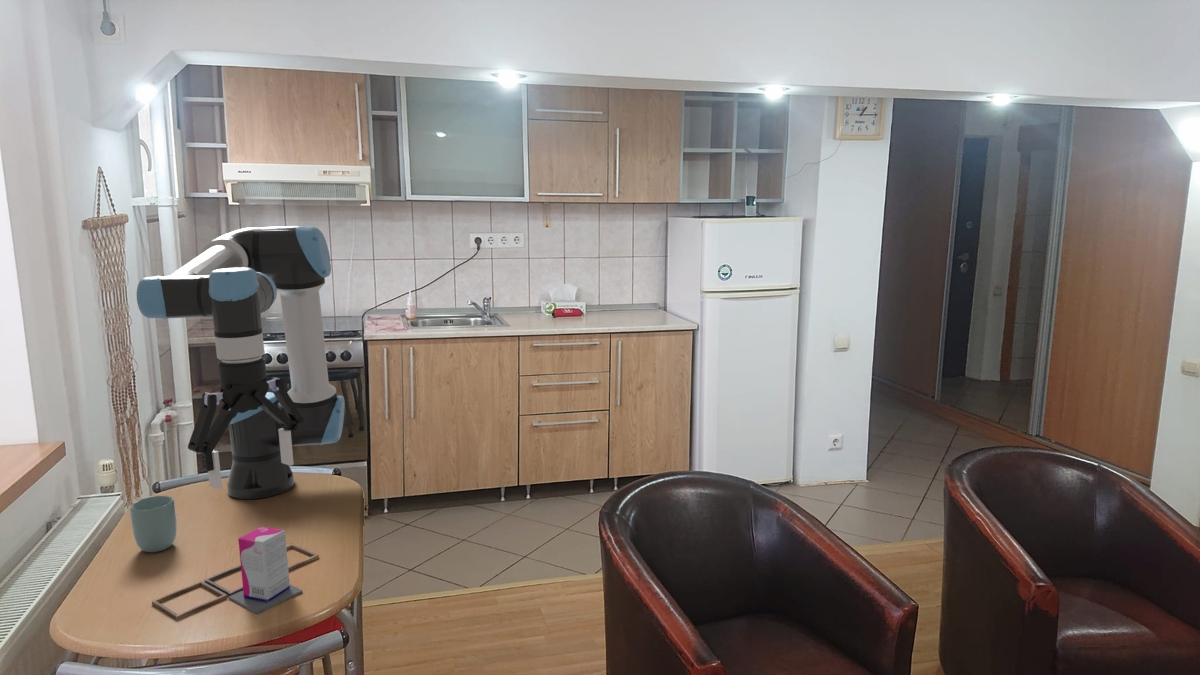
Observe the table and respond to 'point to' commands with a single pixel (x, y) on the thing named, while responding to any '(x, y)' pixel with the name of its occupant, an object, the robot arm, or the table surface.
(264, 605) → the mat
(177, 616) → the frame
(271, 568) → the supplement box
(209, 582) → the frame
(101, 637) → the table surface
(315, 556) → the frame
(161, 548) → the cup
